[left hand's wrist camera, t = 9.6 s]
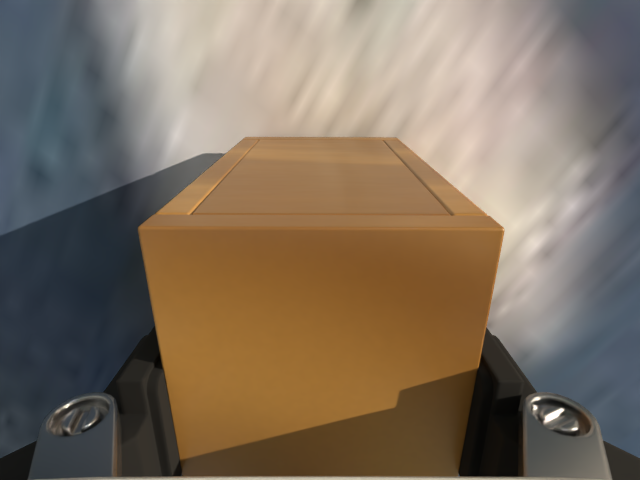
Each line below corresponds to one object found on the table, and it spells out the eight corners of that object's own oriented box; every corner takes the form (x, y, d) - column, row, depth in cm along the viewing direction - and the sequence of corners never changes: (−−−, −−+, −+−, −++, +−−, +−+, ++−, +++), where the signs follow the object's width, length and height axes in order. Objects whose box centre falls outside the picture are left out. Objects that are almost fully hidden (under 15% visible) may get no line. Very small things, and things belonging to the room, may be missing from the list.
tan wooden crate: (374, 449, 24) (412, 719, 14) (265, 448, 24) (224, 718, 14) (397, 137, 17) (505, 227, 7) (244, 136, 17) (135, 226, 7)
